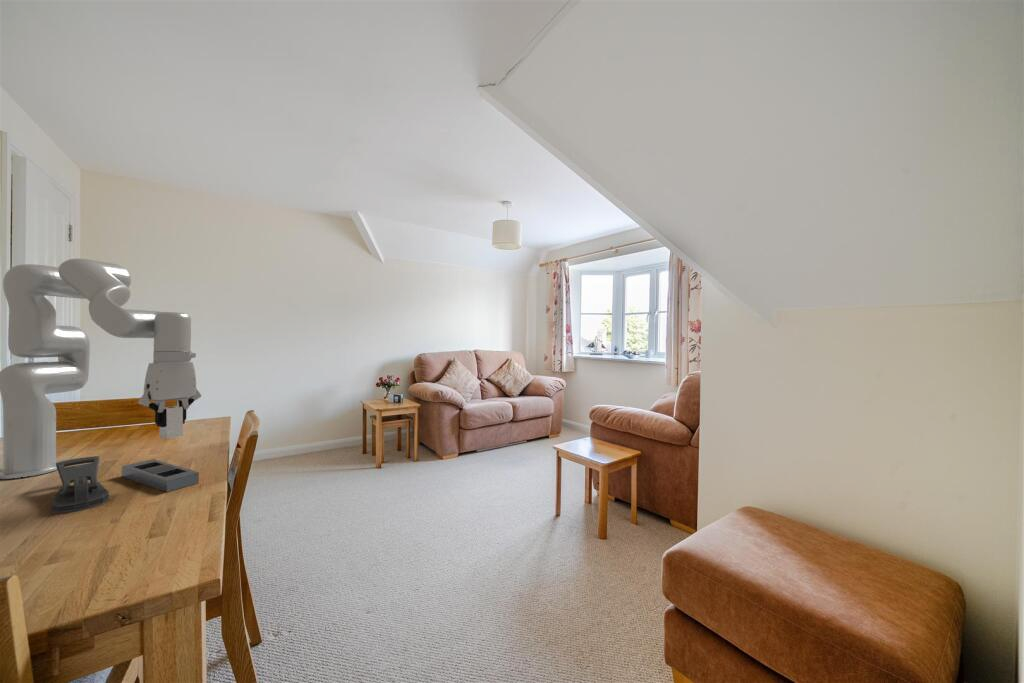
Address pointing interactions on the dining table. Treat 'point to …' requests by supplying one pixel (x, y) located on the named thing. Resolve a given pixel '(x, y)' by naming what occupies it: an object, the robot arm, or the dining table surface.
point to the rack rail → (160, 475)
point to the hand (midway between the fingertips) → (170, 424)
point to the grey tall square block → (172, 422)
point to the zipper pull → (79, 486)
